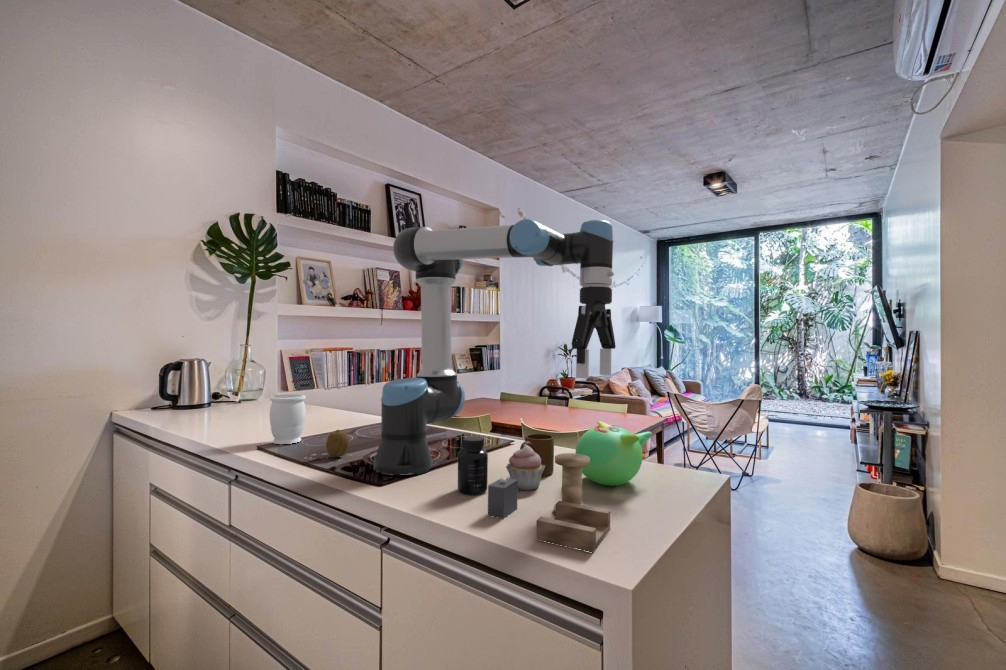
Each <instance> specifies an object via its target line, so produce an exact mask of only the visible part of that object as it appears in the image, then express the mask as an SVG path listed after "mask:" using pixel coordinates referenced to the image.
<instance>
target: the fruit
mask: <svg viewBox="0 0 1006 670" xmlns="http://www.w3.org/2000/svg"><path fill="white" fill-rule="evenodd" d="M326 438H327V439H326V443H325V444H326V451H327V453H328V455H330V456H331V457H333V458H335V457H340V456H341V457H343V456H345V455H346V453H348V450H349V448H350V437H349V436H348V433H347V432H346V431H343V430H340V429H336V430H335V431H332V432H330V434H329V435H328V436H327V437H326ZM341 457H340V458H341Z"/></svg>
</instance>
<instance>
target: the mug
mask: <svg viewBox="0 0 1006 670" xmlns="http://www.w3.org/2000/svg"><path fill="white" fill-rule="evenodd" d="M554 440H555V438H554V436H552V435H550V434H545V433H531V434H526V435H525V439H524V441H523V442H522V443H521V445H520V447H519V450H520V449H523V446H524V444H526V445H527V446H529V447H531V448H532V449H533V451H534V452H535V453H537V454H538V455H539V456H540V458H541V465H544V466H545V467H544V470H543V473H542V475H541V477H548V476H551V475H552V474H553V473H554V464H555V441H554Z"/></svg>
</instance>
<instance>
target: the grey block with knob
mask: <svg viewBox="0 0 1006 670" xmlns="http://www.w3.org/2000/svg"><path fill="white" fill-rule="evenodd" d="M518 490H519V489H518V480H514V479H510V477H509V478H508V477H500V478H499V479H497V480H496V481H493V482H491V483H490V484H487V492H488V493H487V516H488V515H489V516H488V517H491V516H494V517H493V518H496V517H498V518H497V519H500V518H502V519H501V520H505V519H506V518H507V517H508V515H509V516H510V515H511V514H513V513H514V512H515V511H517V510H518ZM504 518H505V519H504Z"/></svg>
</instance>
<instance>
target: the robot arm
mask: <svg viewBox="0 0 1006 670" xmlns="http://www.w3.org/2000/svg"><path fill="white" fill-rule="evenodd" d="M613 237H614V234H613V226H612V224H611V222H609V221H607V220H604V219H590V220H587V221H584V222H582V223H581V225H580V229H579V231H576V232H571V233H569V232H568V233H560V232H559V231H556V230H553V228H550V227H548V226H546V225H544V224H543V223H541V222H540V221H537V220H534V219H529V218H523V219H521V220H519V221H517V222H515V224H506V225H505V224H504V225H492V226H476V227H475V226H474V227H462V228H461V227H460V228H449V229H434V230H433V229H432V228H430V227H429V226H420V227H419V226H418V227H416V226H415V227H409V228H405V229H403V230H401V231H400V232H399V233H398V234H397V236H396V237H395V239H394V241H393V245H392V251H393V255H394V257H395V259H396V261H397V263H398V264H399V265H400V266H402V267H403V268H404V269H406V270H409V271H412V272H414V273H415V282H416V283H417V284H418V285H419V286H420V309H421V310H420V313H421V315H420V317H421V318H420V319H421V323H420V326H421V370H419V372H417V374H416V377H406V378H398V379H393V380H389V381H388V382H385V384H384V385H383V387H382V392H381V393H382V394H381V398H380V401H381V419H380V421H381V425H380V426H381V427H380V429H381V435H380V442H379V446H378V448H377V451H376V455H375V458H374V460H373V470H374V469H375V470H376V471H379V472H383V473H388V474H408V473H417V475H421V474H425V473H427V472H430V470H429V469H431V467H432V468H433V457H432V455H431V452H430V448H429V445H428V444H429V443H428V441H427V425H428V424H432V423H433V424H434V423H437V422H443V421H447V420H449V419H451V418H454V417H455V416H457V415H458V414H459V413H460V412H461V411H462V409H463V407H464V404H465V399H466V394H465V389H464V387H463V386H462V385H461V382H459V381H458V373H457V372H456V371H455V370H454V369H453V368H452V361H453V360H452V304H451V303H452V300H451V297H452V296H451V293H452V291H451V290H452V289H451V288H452V286H453V285H454V284H455V283H456V276H457V275H458V274H459V272H460V270H461V269H462V266H463V263H464V262H463V261H464V260H474V259H475V260H476V259H477V260H479V259H482V260H483V259H502V258H504V259H505V258H508V259H509V258H533V260H534V262H535V263H536V265H538V266H540V267H541V266H544V267H546V266H548V267H553V266H561V265H562V266H563V265H564V266H565V265H574V264H575V265H578V264H579V265H580V266H579V267H580V268H579V269H580V270H579V286H581V287H580V288H579V303H580V304H581V305H579V306H578V311H577V312H578V314H577V318H576V321H575V322H576V324H575V327H574V331H573V335H572V340H571V348H572V350H575V351H576V352H575V353H576V354H575V355H576V359H575V360H576V361H575V362H576V363H575V366H576V367H575V378H576V379H589V377H590V376H589V371H590V370H589V366H590V365H589V364H590V360H589V359H590V350H589V348H588V346H589V345H590V344H589V343H590V341H591V338H592V335H593V332H594V329H596V333H597V336H598V339H599V342H600V346H601V348H599V375H600V376H611V375H612V350H613V349H614V350H615V349H616V347H617V346H616V340H615V334H614V327H613V322H612V321H613V320H612V310H611V308H606V305H611V303H613V289H612V288H611V286H612V285H613V276H614V275H615V273H614V271H613V255H614V251H613V250H614V238H613ZM582 304H583V305H582ZM431 470H432V469H431ZM417 475H416V476H417Z"/></svg>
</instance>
